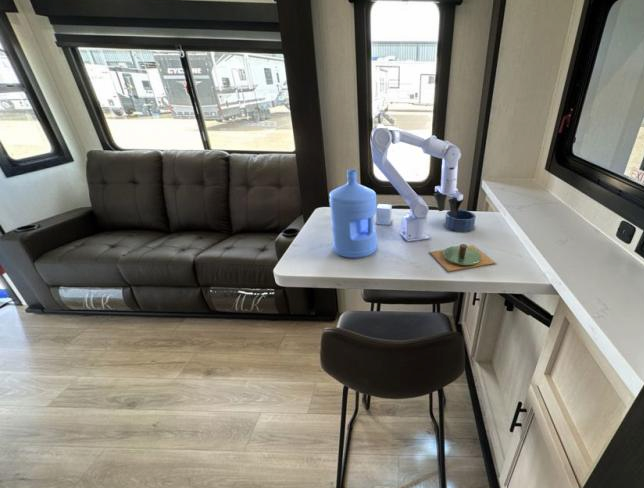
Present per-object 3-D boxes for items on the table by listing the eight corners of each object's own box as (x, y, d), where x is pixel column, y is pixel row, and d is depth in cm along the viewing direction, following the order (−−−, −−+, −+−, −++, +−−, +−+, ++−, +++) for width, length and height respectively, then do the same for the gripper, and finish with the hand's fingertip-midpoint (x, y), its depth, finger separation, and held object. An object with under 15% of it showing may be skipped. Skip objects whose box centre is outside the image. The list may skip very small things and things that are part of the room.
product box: (378, 219, 138) (378, 203, 134) (391, 220, 137) (392, 204, 134) (376, 224, 133) (375, 208, 129) (389, 225, 132) (390, 209, 128)
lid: (454, 269, 100) (456, 257, 98) (436, 251, 111) (437, 240, 109) (488, 263, 104) (491, 251, 102) (468, 246, 115) (469, 235, 113)
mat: (448, 271, 99) (448, 270, 99) (430, 253, 111) (430, 252, 111) (494, 263, 105) (494, 262, 105) (472, 246, 116) (472, 245, 116)
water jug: (325, 253, 108) (316, 173, 94) (347, 237, 120) (343, 163, 106) (364, 262, 103) (362, 179, 89) (383, 244, 116) (384, 168, 102)
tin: (453, 233, 126) (455, 221, 124) (440, 222, 136) (441, 211, 133) (479, 230, 130) (481, 218, 127) (464, 220, 140) (465, 208, 137)
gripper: (470, 181, 109) (467, 216, 116) (445, 173, 120) (444, 206, 127) (455, 184, 106) (452, 220, 113) (431, 175, 117) (430, 209, 124)
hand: (447, 213), depth 120 cm, fingers open, 7 cm apart
